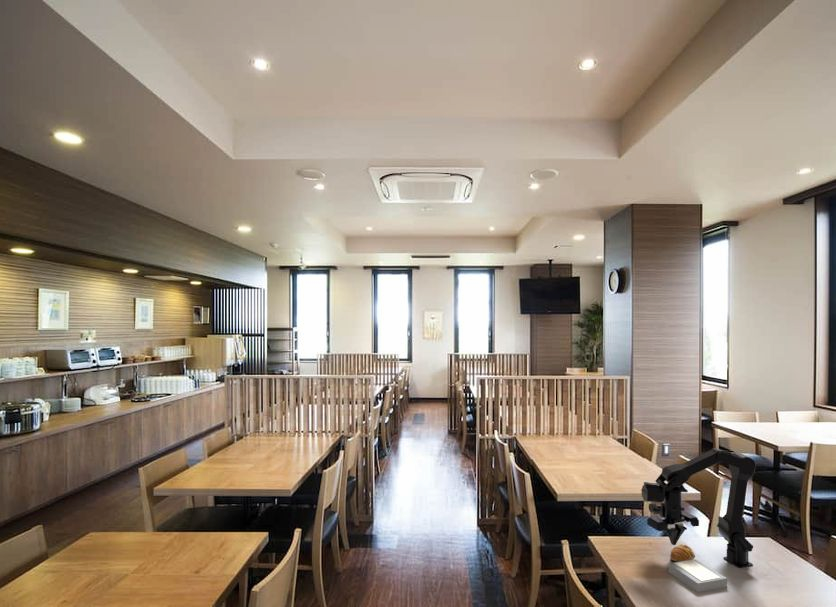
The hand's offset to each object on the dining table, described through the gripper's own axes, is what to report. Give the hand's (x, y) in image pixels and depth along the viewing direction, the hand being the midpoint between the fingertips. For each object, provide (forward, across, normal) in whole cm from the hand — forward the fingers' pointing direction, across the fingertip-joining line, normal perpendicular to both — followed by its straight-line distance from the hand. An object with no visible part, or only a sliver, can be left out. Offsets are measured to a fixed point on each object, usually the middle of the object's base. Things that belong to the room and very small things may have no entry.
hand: (673, 544), depth 164 cm
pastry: (+6, 0, 0) cm, 6 cm away
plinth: (+5, +3, +13) cm, 14 cm away
